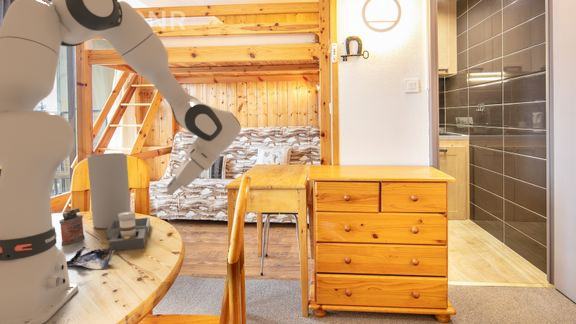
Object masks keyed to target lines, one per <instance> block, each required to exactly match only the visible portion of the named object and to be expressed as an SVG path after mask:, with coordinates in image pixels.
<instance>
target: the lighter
mask: <svg viewBox="0 0 576 324" xmlns="http://www.w3.org/2000/svg"><path fill="white" fill-rule="evenodd" d="M80 212H81V211H80V208H79V207H76V208H73V209H66V211H65V212H62V217H63V219H60V220H59V224H60V234H61V246H64V247H65V246H70V245H73V244H75V243H78V242H80V241H83V240H84V239H85V234H84V233H85V232H84V223H83V217H84V216H83V214H77V213H80Z"/></svg>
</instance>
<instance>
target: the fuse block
mask: <svg viewBox="0 0 576 324" xmlns="http://www.w3.org/2000/svg"><path fill="white" fill-rule="evenodd" d="M146 240H147V235H146V229H139V230H136V237H130V236H125V237H124V238H121V233H120V231H119V232H114V233H113V235H112V237H111V239H109V249H111V248H112V247H113V246H115V250H114V252H120V251H121V252H122V251H130V250H131V251H132V250H138V249H140V250H141V249H145V246H146Z"/></svg>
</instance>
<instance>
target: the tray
mask: <svg viewBox="0 0 576 324" xmlns="http://www.w3.org/2000/svg"><path fill="white" fill-rule="evenodd" d="M150 219H151V217H150V216H149V217H138V218H135V225H136V230H139V229H146V236H149V234H150V227H151V220H150ZM119 231H120V220H115V221H112V222H111V224H110V226H109V227H108V229H106V236H107V240H110V239H111V237H112V235H113V233H114V232H119Z"/></svg>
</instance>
